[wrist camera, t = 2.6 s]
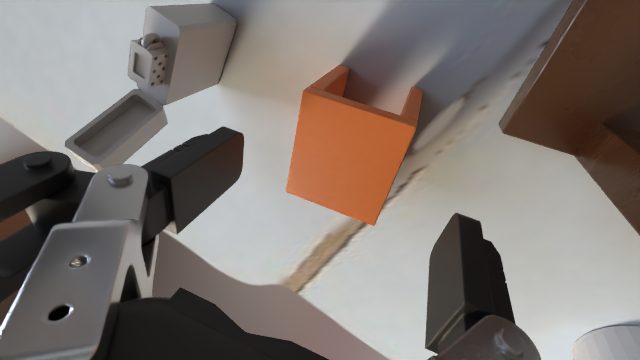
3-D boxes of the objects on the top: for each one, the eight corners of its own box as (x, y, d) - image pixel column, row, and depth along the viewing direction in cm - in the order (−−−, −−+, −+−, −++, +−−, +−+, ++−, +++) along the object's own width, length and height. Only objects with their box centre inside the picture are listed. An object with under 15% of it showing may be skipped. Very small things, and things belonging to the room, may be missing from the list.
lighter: (210, 1, 16) (51, 7, 9) (237, 20, 16) (98, 39, 9) (184, 108, 20) (63, 162, 14) (205, 122, 20) (94, 184, 14)
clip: (319, 147, 18) (285, 192, 14) (339, 64, 15) (302, 89, 11) (389, 172, 17) (374, 226, 13) (423, 90, 14) (417, 127, 10)
